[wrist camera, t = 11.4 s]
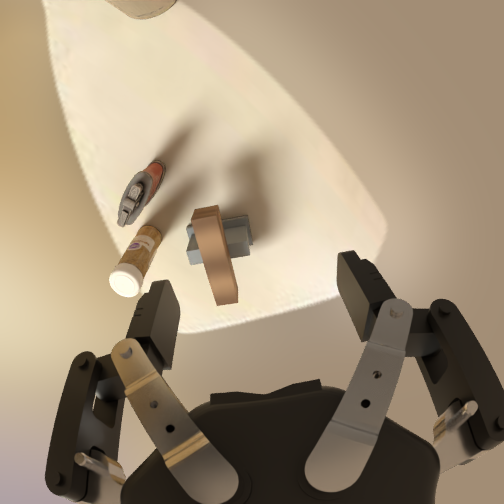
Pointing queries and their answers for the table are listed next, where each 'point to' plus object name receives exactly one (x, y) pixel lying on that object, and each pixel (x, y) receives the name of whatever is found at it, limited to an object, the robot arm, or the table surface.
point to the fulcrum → (235, 237)
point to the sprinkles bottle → (135, 262)
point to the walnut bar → (215, 254)
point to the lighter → (140, 192)
